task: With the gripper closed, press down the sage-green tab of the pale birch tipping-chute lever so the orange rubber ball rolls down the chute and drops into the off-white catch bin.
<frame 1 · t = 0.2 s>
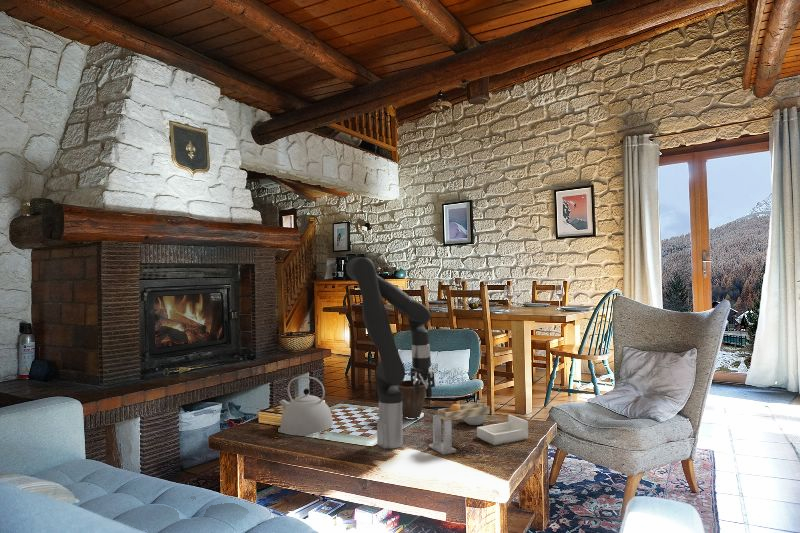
hand: (423, 395, 210), 18 cm above the table, tool pointing down, fingers open, 8 cm apart
catch bin: (502, 437, 211), on the table
ball: (455, 409, 201), point 14 cm above the table, touching chute lever
chute lever: (457, 409, 207), point 13 cm above the table, hinge at 0.0°, touching ball
teacup: (473, 422, 233), on the table
plant pot: (411, 418, 242), on the table
kettle: (304, 427, 229), on the table
pivot stand: (442, 449, 198), on the table
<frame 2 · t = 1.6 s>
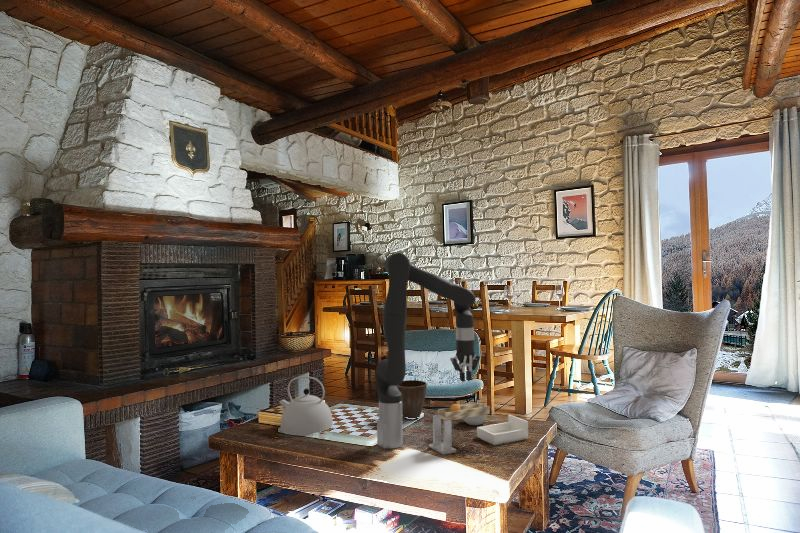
hand: (465, 380, 212), 23 cm above the table, tool pointing down, fingers closed
nothing on the table moved.
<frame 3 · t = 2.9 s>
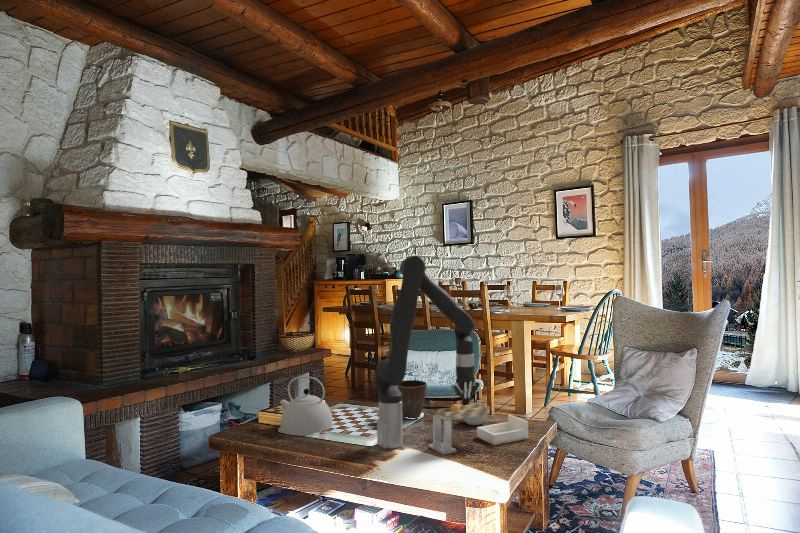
hand: (465, 406, 212), 12 cm above the table, tool pointing down, fingers closed
chute lever: (457, 409, 207), point 13 cm above the table, hinge at 0.1°, touching ball, gripper
everything else where it was.
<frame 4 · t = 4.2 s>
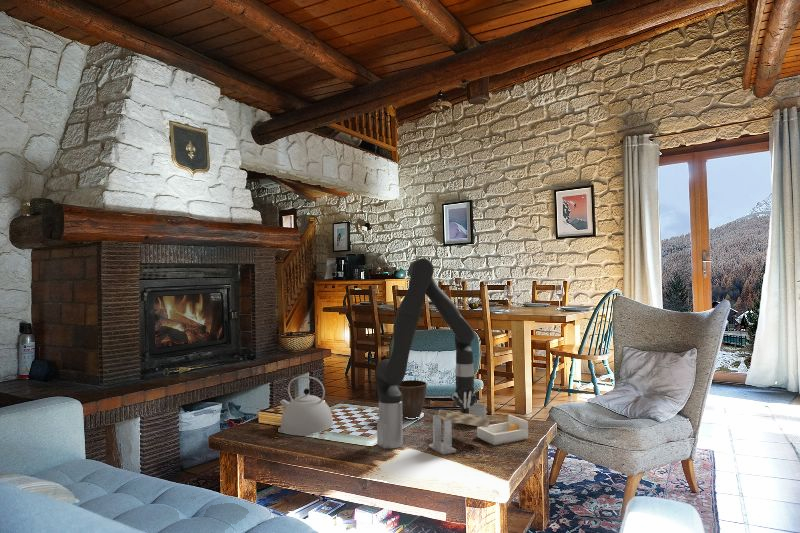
hand: (465, 416, 212), 8 cm above the table, tool pointing down, fingers closed
ball: (513, 429, 213), point 3 cm above the table, tilted 147°, touching catch bin
chute lever: (457, 415, 207), point 10 cm above the table, hinge at 15.1°, touching gripper
everything else where it was.
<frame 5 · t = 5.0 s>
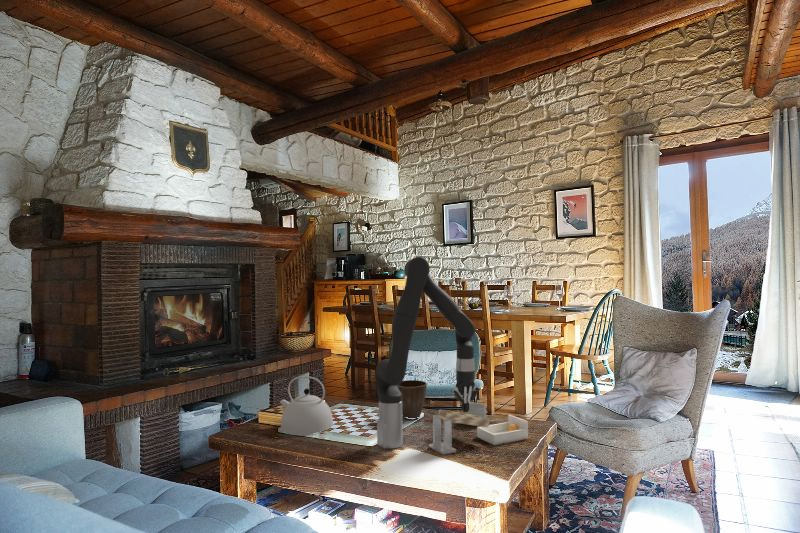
hand: (465, 411, 212), 11 cm above the table, tool pointing down, fingers closed
ball: (512, 429, 213), point 3 cm above the table, tilted 141°, touching catch bin
chute lever: (457, 415, 207), point 10 cm above the table, hinge at 15.1°
everything else where it was.
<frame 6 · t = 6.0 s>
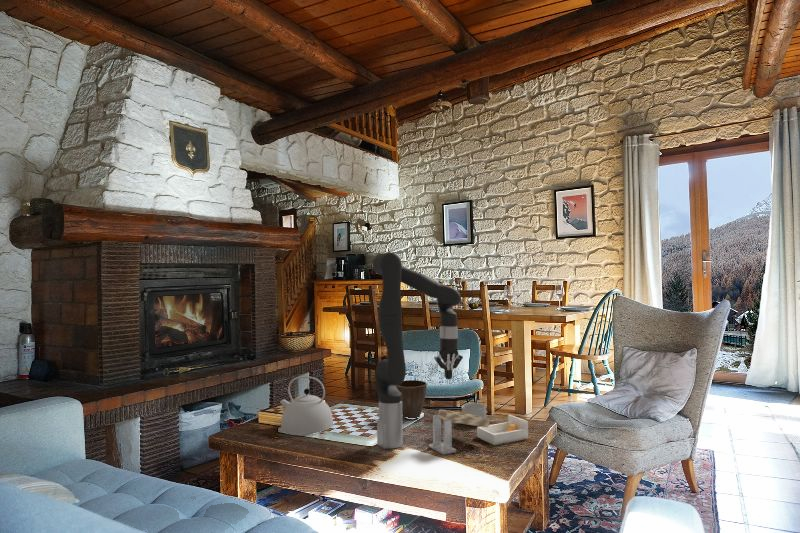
hand: (448, 378, 215), 23 cm above the table, tool pointing down, fingers closed
ball: (512, 429, 213), point 3 cm above the table, tilted 133°, touching catch bin
everything else where it was.
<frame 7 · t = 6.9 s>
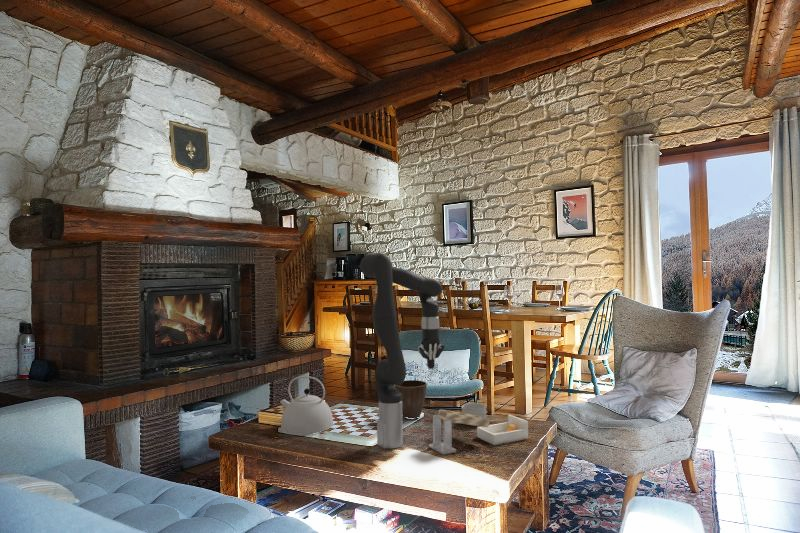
hand: (431, 368, 219), 27 cm above the table, tool pointing down, fingers closed
ball: (511, 429, 213), point 3 cm above the table, tilted 125°, touching catch bin
everything else where it was.
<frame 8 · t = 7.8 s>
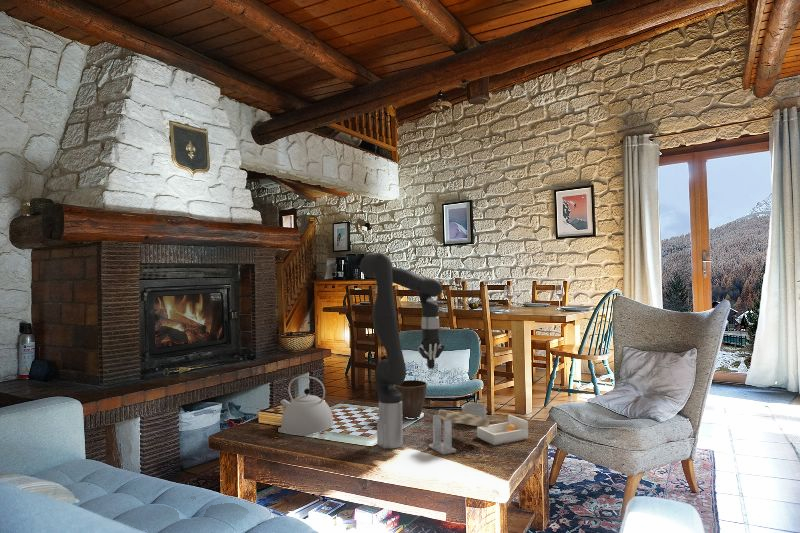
hand: (431, 368, 219), 27 cm above the table, tool pointing down, fingers closed
ball: (511, 429, 213), point 3 cm above the table, tilted 118°, touching catch bin
everything else where it was.
at the end: ball inside the target area on the catch bin (4.5 cm from its centre), point 2.8 cm above the catch bin's base; chute lever at +15° (first picture: +0°) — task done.
